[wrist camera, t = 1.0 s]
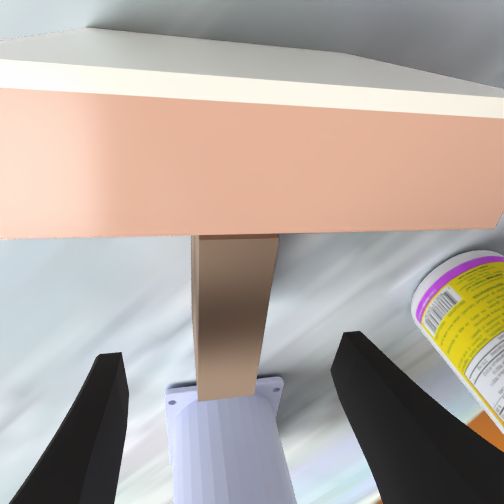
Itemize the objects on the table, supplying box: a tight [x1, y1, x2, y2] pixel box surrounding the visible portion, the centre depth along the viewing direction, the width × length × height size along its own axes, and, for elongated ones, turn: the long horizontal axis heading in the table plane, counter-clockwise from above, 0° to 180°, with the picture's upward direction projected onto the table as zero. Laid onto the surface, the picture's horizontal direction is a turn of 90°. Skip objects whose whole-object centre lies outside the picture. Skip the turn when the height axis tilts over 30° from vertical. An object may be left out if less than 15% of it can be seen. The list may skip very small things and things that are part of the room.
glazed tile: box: [0, 27, 504, 239], centre depth 9 cm, size 2×9×9 cm, turn 85°
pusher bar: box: [191, 233, 279, 402], centre depth 15 cm, size 8×2×6 cm, turn 175°
